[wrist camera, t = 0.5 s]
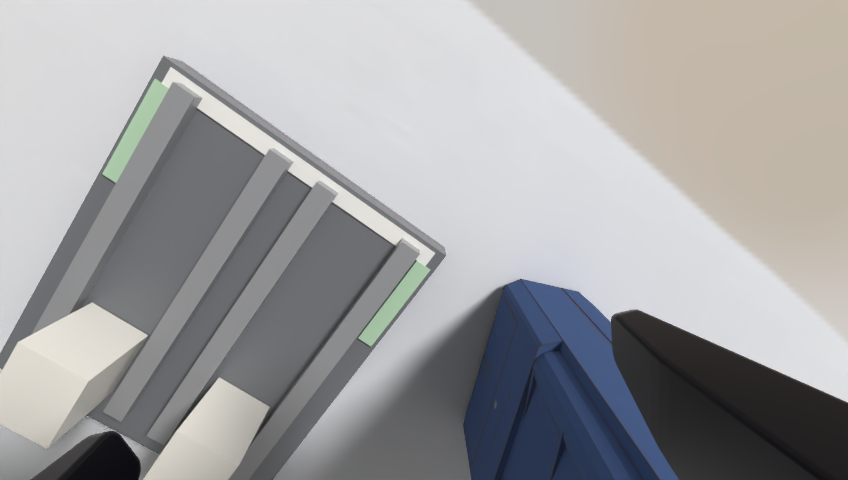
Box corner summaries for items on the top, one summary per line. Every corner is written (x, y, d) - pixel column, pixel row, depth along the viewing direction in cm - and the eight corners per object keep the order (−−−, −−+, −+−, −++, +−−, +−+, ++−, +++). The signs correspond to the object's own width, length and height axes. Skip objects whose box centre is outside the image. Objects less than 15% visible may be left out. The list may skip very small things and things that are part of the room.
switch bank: (262, 483, 25) (247, 517, 23) (20, 349, 23) (-22, 373, 21) (444, 247, 22) (447, 260, 20) (182, 61, 20) (152, 52, 17)
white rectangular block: (111, 392, 22) (47, 448, 18) (56, 362, 22) (-22, 413, 18) (148, 335, 21) (88, 381, 17) (92, 302, 21) (17, 342, 17)
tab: (231, 459, 23) (194, 525, 19) (181, 431, 23) (133, 493, 19) (269, 406, 22) (239, 464, 19) (219, 377, 22) (176, 430, 18)
